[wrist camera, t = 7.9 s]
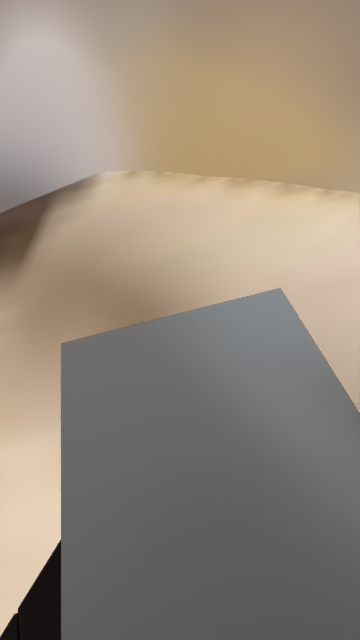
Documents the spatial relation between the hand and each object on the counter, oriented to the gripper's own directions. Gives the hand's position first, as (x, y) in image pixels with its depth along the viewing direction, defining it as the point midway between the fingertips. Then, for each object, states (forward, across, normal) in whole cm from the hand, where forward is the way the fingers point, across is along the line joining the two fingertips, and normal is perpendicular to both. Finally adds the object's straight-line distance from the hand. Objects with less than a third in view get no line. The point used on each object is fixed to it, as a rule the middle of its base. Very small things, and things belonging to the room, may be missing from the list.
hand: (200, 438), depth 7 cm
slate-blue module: (+4, 0, +5) cm, 7 cm away
